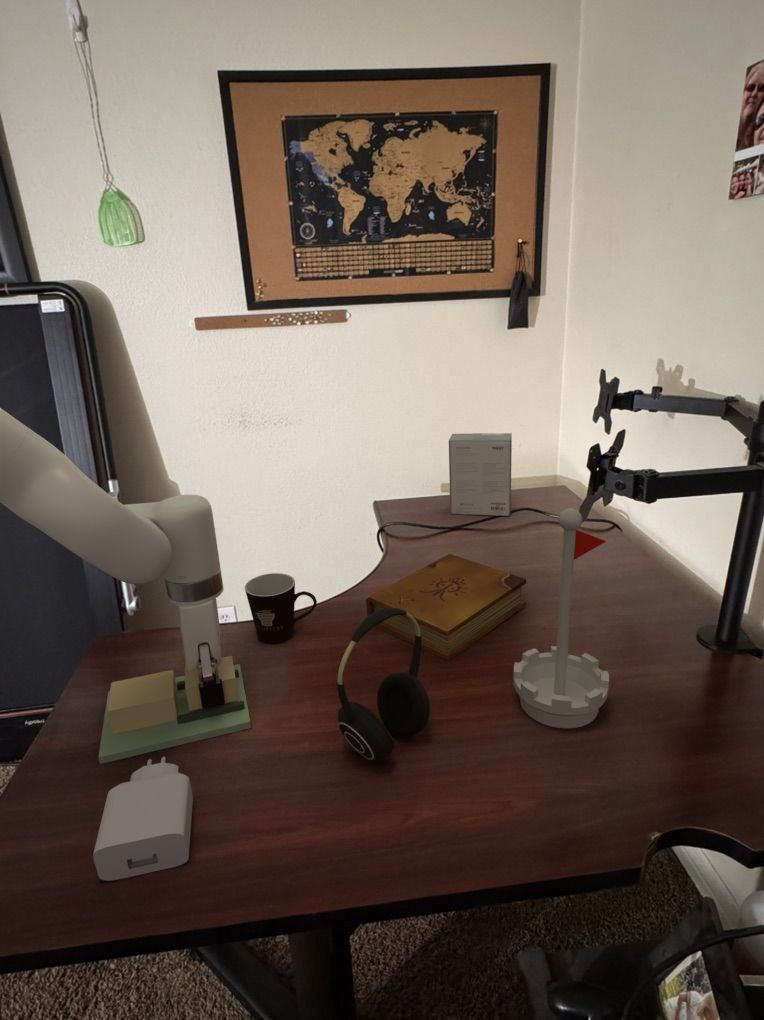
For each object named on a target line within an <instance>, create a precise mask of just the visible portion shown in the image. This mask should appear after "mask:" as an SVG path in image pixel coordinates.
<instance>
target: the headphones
mask: <svg viewBox="0 0 764 1020" xmlns="http://www.w3.org/2000/svg"><path fill="white" fill-rule="evenodd" d="M396 615H403V616H407V617H408V618H410V620H411V621H412V622H413V624H414V626H415V630H416V634H415V643H414V645H413V651H412V657H411V661H410V665H409V669H408V672H404V671H396V672H392V673H390V674H388V675H387V676H386V677H385V678H383V680H382V681H381V683H380V685H379V687H378V688H377V689H378V690H377V694H376V705H377V711H378V715H379V717H380V718H378V716H377V715H375V713H373V712H372V711H371V710H370V709H369V708H368V707H366V706H364V705H363V704H361V703H359V702H356V701H349V699H348V696H347V693H346V687H345V683H344V681H343V676H344V671H345V668H346V664H347V661H348V659H349V656H350V654H351V652H352V650H353V649H354V647H355V645H356V644H357V643H359V642H360V640H361V639H362V638H363V637H364V636H365V635H366V634H367V633H369V632H370V630H372V629H373V628H375V627H376V625H377V624H379V623H381V622H383V621H385V620H387V619H388V618H390V617H392V616H396ZM421 655H422V648H421V634H420V629H419V626H418V623H417V622H416V620H415V619H414V618H413V617H412V616H411V615H410V614H408V613H407V612H406V611H404V610H402V609H399V608H385V609H381V610H379V611H376V612H374V613H372V614H371V615H370V616H368V617H367V616H366V617H365V619H364V620H363V621H362V622H361V623H360V624H359V626H358V627H357V628H356V630H355V631H354V633H353V635H352V636H351V638H350V642H349V643H348V646H347V647H346V649H345V651H344V653H343V656H342V658H341V661H340V664H339V667H338V671H337V681H336V689H337V694H338V698H339V701H340V704H341V707H340V708H339V709H338V712H337V723H338V724H337V727H338V730H339V732H340V734H341V735H342V737H343V738H344V740H345V741H346V742H347V743H348V745H349V746H350V747H351V748H352V749H353V750H355V751H356V752H357V754H359V755H361V756H362V757H363V758H365V759H367V760H369V761H370V760H371V761H372V760H374V761H383V760H387V758H389V757H390V756H391V754H393V750H394V748H395V747H394V739H393V737H392V735H393V734H394V735H395V736H398V737H401V738H411V737H414V736H417V735H418V734H420V733H422V731H424V729H425V728H426V726H427V725H428V723H429V719H430V716H431V714H430V713H431V703H430V697H429V695H428V692H427V690H426V687H425V686H424V685H423V683H422V682H421V681H420V680H419V679H418V675H419V669H420V663H421ZM391 733H392V735H391Z"/></svg>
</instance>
